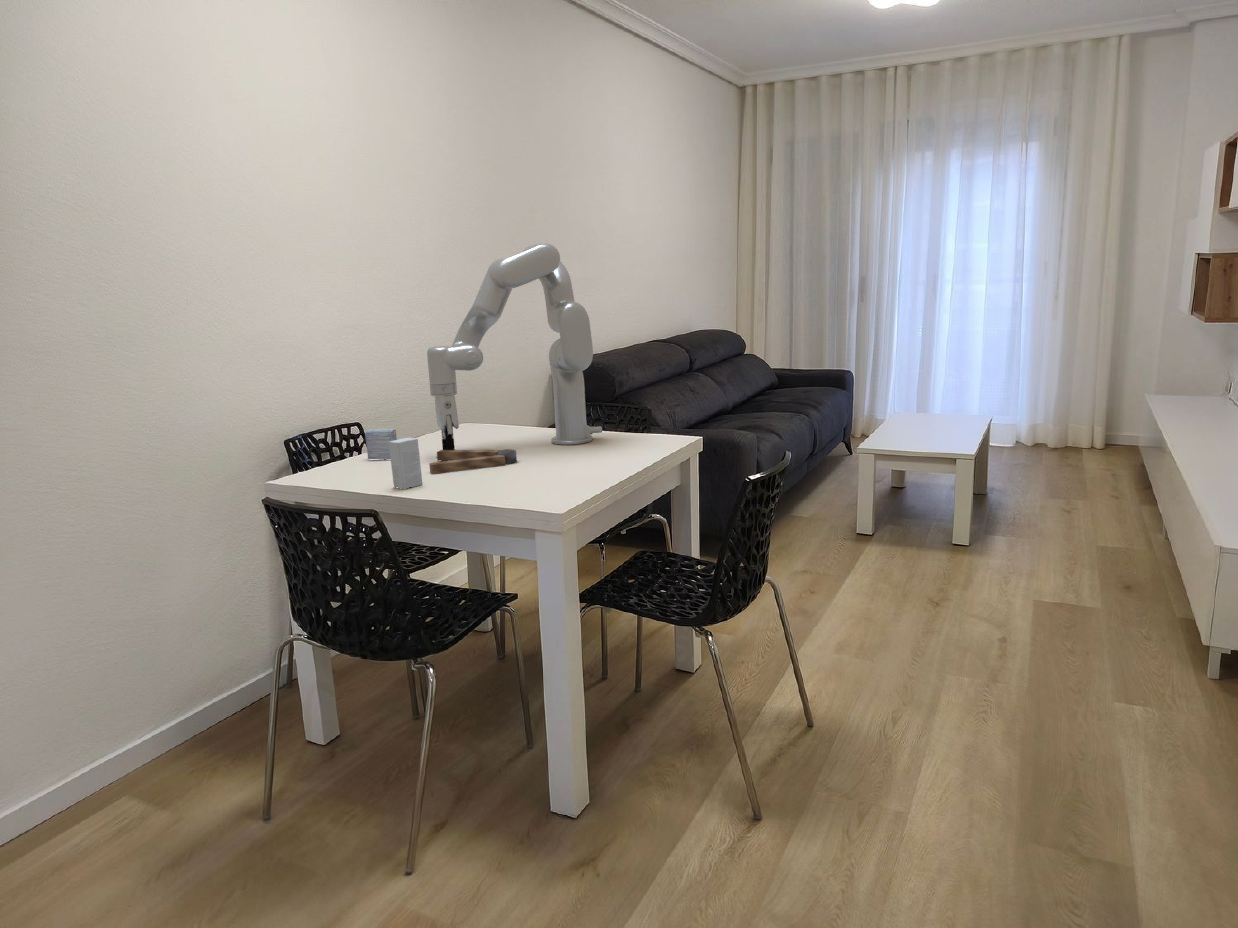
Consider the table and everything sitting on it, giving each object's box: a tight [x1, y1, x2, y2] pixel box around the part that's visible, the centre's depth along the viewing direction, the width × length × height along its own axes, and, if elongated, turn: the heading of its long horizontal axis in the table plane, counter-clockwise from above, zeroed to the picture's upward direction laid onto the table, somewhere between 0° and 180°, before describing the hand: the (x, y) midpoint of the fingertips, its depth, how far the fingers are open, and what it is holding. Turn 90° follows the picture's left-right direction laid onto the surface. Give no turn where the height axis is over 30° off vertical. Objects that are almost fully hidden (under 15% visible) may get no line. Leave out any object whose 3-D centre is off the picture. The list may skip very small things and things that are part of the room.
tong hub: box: [428, 449, 518, 475], centre depth 241 cm, size 24×6×3 cm, turn 111°
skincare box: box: [389, 437, 423, 490], centre depth 220 cm, size 6×4×12 cm
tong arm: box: [436, 449, 500, 462], centre depth 250 cm, size 18×3×2 cm, turn 76°
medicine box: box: [364, 428, 398, 460], centre depth 258 cm, size 8×4×9 cm, turn 84°
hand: (448, 452), depth 257 cm, fingers closed
